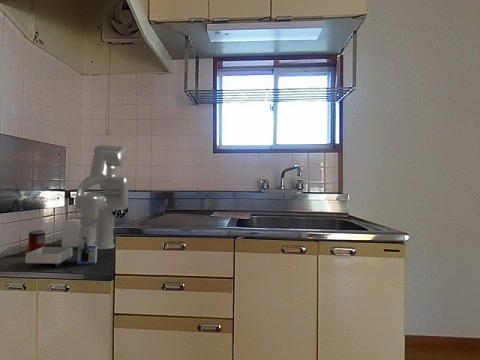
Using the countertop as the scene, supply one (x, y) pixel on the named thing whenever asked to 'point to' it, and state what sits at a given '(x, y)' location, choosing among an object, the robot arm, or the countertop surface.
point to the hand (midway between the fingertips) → (87, 259)
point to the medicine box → (92, 255)
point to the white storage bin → (49, 255)
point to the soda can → (36, 240)
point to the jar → (71, 233)
